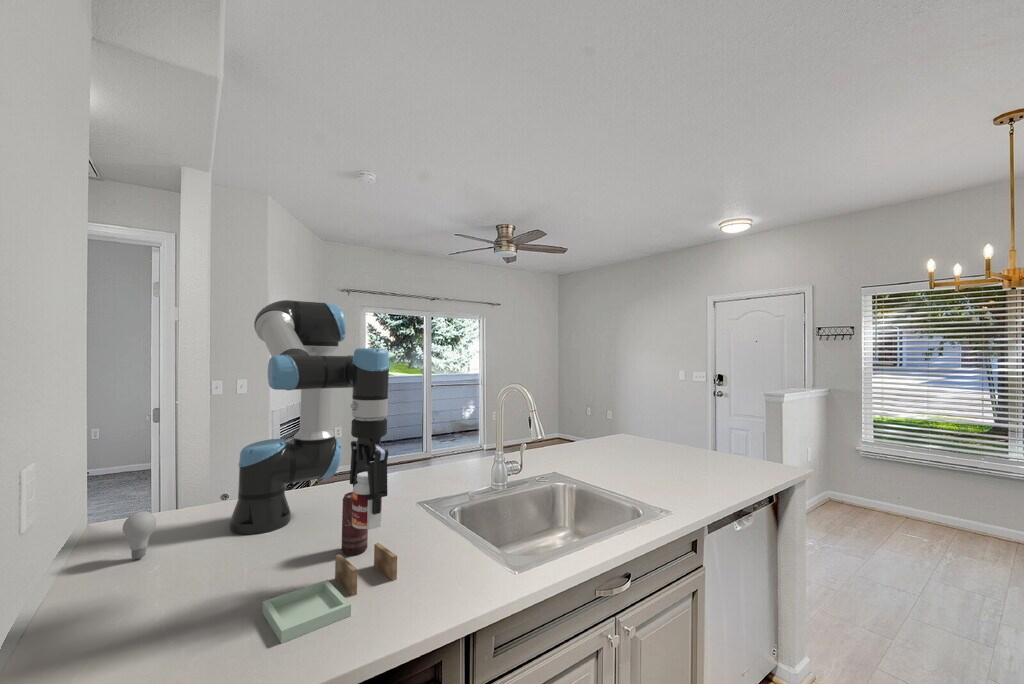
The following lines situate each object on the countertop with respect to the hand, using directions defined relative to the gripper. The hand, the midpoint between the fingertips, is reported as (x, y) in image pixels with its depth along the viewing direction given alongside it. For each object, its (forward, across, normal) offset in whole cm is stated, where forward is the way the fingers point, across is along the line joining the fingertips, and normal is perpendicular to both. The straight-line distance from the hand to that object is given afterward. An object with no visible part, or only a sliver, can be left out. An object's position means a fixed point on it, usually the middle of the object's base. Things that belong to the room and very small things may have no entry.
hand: (366, 522), depth 97 cm
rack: (+12, 0, 0) cm, 12 cm away
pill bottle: (+1, 0, 0) cm, 1 cm away
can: (+13, -14, +4) cm, 20 cm away
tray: (+12, +6, -14) cm, 19 cm away
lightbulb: (+13, -44, -36) cm, 58 cm away
